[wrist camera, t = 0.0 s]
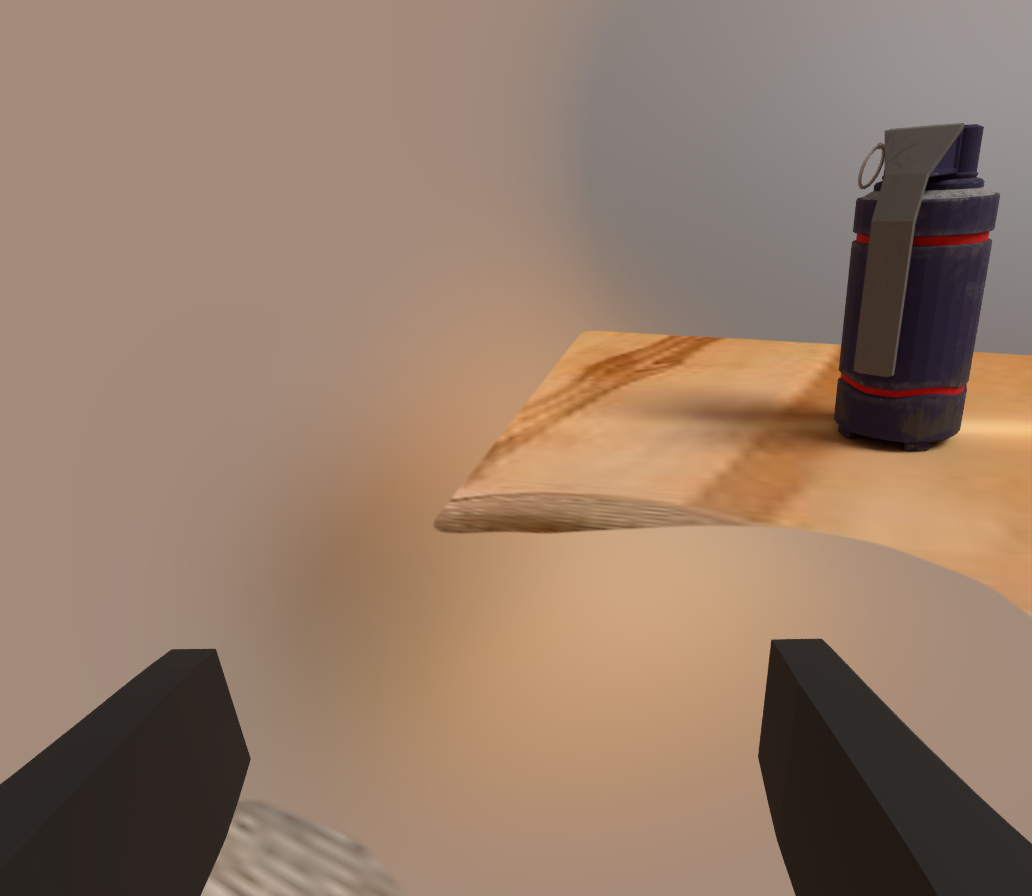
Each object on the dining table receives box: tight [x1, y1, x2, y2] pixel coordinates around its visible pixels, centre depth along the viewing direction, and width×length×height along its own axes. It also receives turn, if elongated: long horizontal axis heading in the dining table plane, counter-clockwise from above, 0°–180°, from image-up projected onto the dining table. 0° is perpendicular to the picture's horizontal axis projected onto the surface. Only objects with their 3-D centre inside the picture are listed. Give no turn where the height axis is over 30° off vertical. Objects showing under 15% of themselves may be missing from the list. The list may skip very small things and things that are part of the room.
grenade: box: [834, 123, 1000, 451], centre depth 71 cm, size 14×12×30 cm
